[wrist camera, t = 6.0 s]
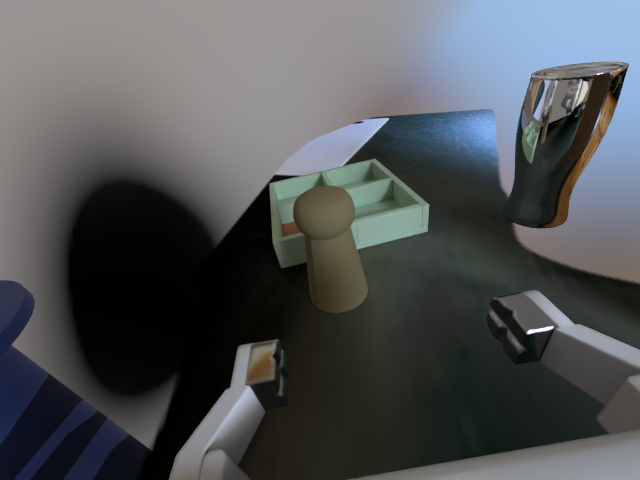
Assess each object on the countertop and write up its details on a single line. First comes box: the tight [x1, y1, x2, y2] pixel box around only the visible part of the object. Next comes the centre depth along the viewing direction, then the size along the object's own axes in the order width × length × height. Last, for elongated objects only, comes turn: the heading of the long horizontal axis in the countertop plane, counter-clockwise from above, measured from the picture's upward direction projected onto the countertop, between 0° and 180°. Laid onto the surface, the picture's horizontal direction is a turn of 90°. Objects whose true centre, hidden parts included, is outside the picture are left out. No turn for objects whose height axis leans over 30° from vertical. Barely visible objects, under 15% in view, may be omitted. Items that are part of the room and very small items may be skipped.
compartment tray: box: [269, 159, 429, 268], centre depth 40 cm, size 18×18×4 cm
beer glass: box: [503, 62, 629, 228], centre depth 29 cm, size 7×7×15 cm
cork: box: [293, 186, 368, 313], centre depth 25 cm, size 6×6×11 cm
